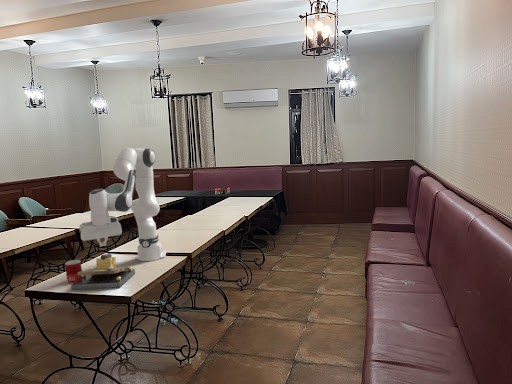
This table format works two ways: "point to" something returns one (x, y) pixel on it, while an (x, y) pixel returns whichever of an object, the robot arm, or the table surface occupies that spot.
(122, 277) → the grey tray
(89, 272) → the level plate
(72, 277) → the canned food
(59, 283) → the table surface
